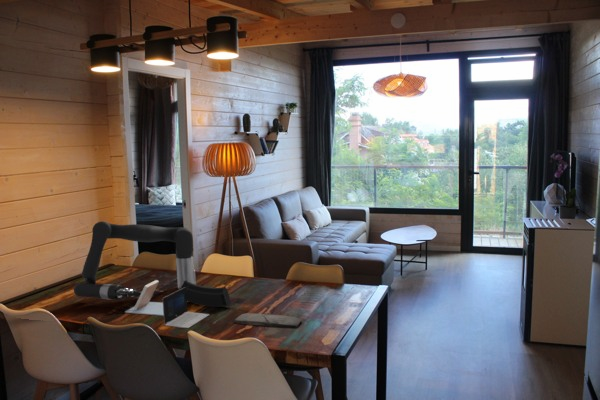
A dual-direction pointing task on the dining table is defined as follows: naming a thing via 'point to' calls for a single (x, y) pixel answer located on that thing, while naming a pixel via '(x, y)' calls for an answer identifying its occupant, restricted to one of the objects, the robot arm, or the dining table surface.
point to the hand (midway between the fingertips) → (141, 294)
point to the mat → (149, 309)
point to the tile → (146, 294)
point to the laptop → (179, 311)
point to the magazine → (207, 295)
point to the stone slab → (268, 320)
